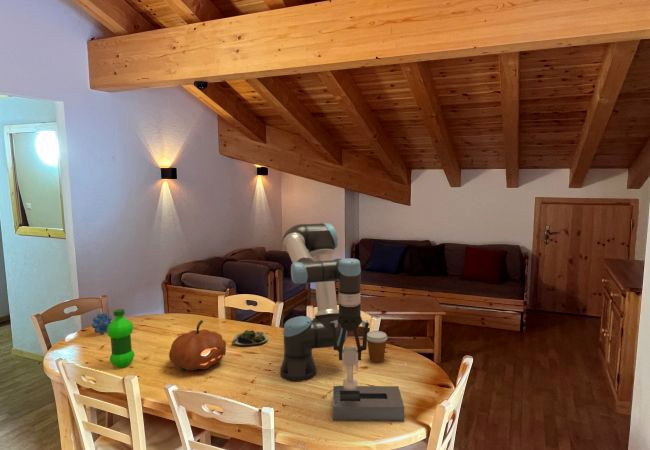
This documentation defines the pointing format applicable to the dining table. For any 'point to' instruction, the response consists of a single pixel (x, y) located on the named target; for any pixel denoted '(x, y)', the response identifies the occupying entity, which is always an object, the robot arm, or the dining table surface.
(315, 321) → the robot arm
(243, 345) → the salad plate
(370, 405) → the keyhole plate
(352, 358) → the headed peg
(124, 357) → the plastic bottle
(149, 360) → the dining table surface
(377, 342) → the disposable coffee cup
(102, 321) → the grapes
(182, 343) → the pumpkin
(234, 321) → the dining table surface
